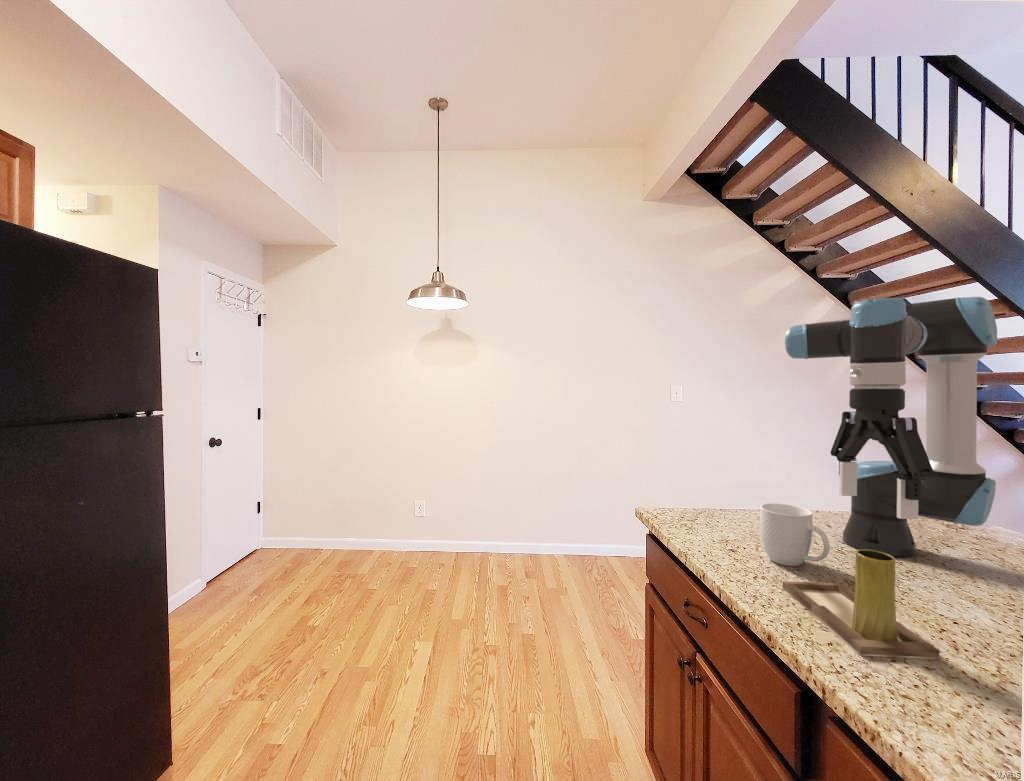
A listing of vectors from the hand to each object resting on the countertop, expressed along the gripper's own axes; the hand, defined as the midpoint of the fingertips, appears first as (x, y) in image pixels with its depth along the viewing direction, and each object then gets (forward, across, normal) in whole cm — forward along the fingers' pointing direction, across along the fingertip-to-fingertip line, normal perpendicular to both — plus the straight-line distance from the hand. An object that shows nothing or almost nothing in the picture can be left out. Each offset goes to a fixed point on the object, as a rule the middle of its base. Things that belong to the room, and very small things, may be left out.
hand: (875, 505), depth 77 cm
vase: (+22, +3, -2) cm, 23 cm away
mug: (+23, -29, +1) cm, 37 cm away
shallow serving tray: (+22, -3, -2) cm, 23 cm away
